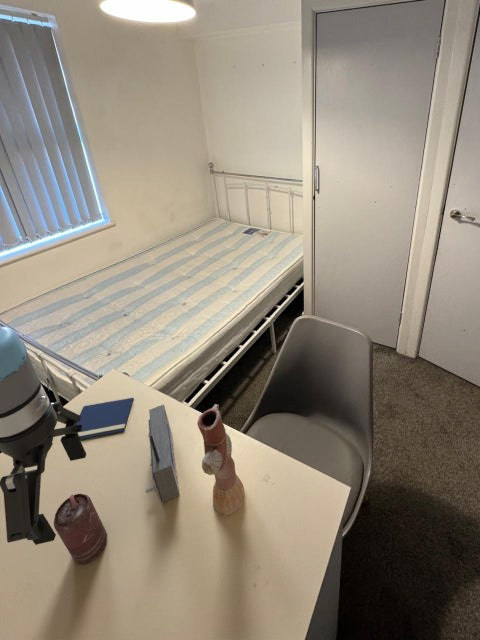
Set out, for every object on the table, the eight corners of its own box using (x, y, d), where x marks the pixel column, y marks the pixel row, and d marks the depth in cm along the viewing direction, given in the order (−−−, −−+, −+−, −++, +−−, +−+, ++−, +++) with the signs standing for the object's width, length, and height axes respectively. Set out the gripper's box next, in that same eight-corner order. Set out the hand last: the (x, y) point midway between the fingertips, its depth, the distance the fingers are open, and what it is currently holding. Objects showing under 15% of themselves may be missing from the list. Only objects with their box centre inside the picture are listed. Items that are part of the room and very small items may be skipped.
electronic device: (180, 494, 76) (165, 440, 68) (149, 509, 73) (129, 454, 65) (171, 431, 90) (158, 379, 82) (145, 441, 87) (129, 389, 79)
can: (102, 520, 71) (84, 483, 65) (111, 546, 67) (93, 509, 61) (70, 545, 67) (48, 507, 62) (78, 574, 63) (55, 537, 57)
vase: (225, 472, 80) (211, 387, 68) (251, 484, 78) (242, 398, 65) (199, 520, 71) (178, 432, 59) (227, 535, 69) (211, 446, 56)
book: (68, 442, 87) (67, 440, 87) (84, 407, 97) (83, 405, 97) (124, 431, 90) (123, 429, 90) (133, 398, 100) (133, 396, 99)
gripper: (0, 499, 40) (55, 578, 49) (79, 355, 62) (107, 428, 71) (-72, 515, 39) (-2, 594, 47) (35, 362, 61) (69, 435, 70)
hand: (64, 494), depth 59 cm, fingers open, 13 cm apart
